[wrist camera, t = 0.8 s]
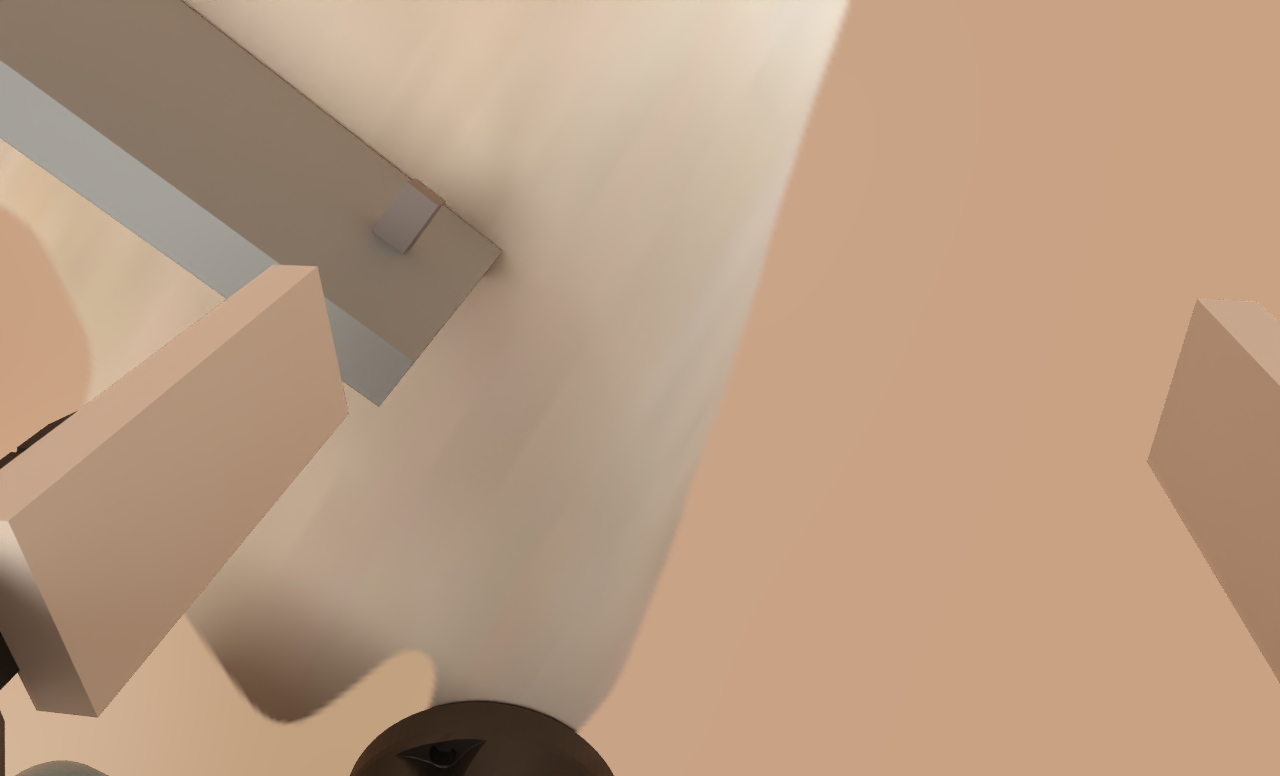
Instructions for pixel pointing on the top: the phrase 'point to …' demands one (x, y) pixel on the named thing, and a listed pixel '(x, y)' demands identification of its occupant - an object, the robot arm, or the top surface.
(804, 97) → the top surface
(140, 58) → the door
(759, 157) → the top surface
